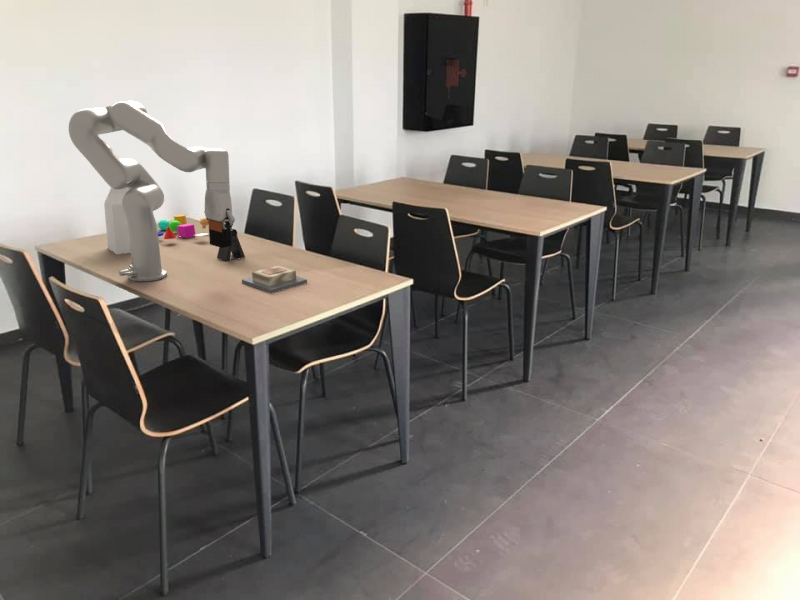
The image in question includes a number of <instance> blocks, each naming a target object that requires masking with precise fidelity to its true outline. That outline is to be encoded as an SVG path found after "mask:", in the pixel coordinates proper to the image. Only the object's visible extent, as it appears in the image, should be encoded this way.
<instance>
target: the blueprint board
mask: <svg viewBox="0 0 800 600" xmlns="http://www.w3.org/2000/svg"><path fill="white" fill-rule="evenodd" d="M241 283H242V284H244V285H247V286H250V287H252V286H253V287H252V288H255V287H256V288H255V289H258V290H261V291H263V290H264V292H266V291H267V293H269V292H270V293H269V294H273V293H276V292H275V291H277V292H279V290H280V291H284V290H287V289H290V287H291V288H293V287H297V285H298V286H300V285H305V284H307V283H308V279H306V278H303V277H300V276H297V275H296V279H293V280H289V281H286V282H282V283H278V284H275V285H271V286H267V285H264V284H261V283H258V282H256V281H253V279H252V276H249V277H246V278H243V279H241ZM304 283H305V284H304ZM283 289H284V290H283ZM272 292H273V293H272Z"/></svg>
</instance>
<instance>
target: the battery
mask: <svg viewBox="0 0 800 600" xmlns="http://www.w3.org/2000/svg"><path fill="white" fill-rule="evenodd" d="M224 220H226V219H224ZM225 224H227V222H225ZM222 229H223V226H222V222H218V221H214V220H211V219H209V224H208V236H209V239H208V241H209V245H210V246H214V247H218V248H219V247H220V248H225V247H229V246H231V240H226V241H223V238H222Z"/></svg>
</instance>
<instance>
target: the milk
mask: <svg viewBox="0 0 800 600" xmlns="http://www.w3.org/2000/svg"><path fill="white" fill-rule="evenodd" d="M127 191H129V189H128V188H124V189H113V188H112V187H110V189H109V193H108V194H107V196H106V199H105V201H104V204H103V205H104V216H105V217H104V219H105V227H106V230H105V231H106V240H107V249H108V248H109V249H108V250H109V251H111V252H112V251H113V252H112V253H114V254H115V255H121V254H122V253H124V254H129V252H131V251H130V243H129V235H128V228H127V222H126V218H125V214H124V211H123V207H122V199H123V196H124V195H125V193H126V192H127ZM122 255H123V254H122Z"/></svg>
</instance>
